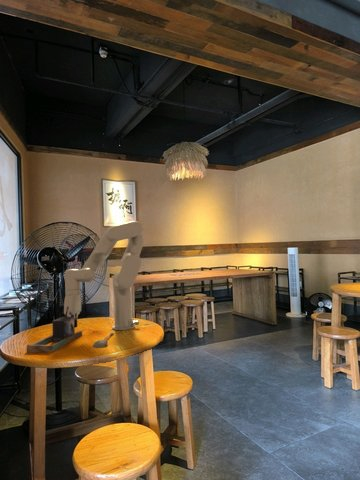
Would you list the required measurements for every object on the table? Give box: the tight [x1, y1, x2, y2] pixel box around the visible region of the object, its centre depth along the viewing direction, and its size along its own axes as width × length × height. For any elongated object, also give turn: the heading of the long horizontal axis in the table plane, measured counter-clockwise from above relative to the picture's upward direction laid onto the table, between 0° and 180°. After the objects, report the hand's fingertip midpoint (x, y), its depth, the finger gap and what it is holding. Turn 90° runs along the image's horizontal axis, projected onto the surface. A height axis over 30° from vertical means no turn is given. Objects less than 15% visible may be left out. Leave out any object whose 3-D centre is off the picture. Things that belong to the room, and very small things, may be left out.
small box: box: [52, 315, 76, 343], centre depth 160 cm, size 11×6×10 cm, turn 168°
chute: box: [26, 330, 83, 354], centre depth 153 cm, size 12×27×3 cm, turn 169°
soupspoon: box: [92, 332, 115, 349], centre depth 154 cm, size 22×3×7 cm
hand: (73, 327), depth 169 cm, fingers closed
